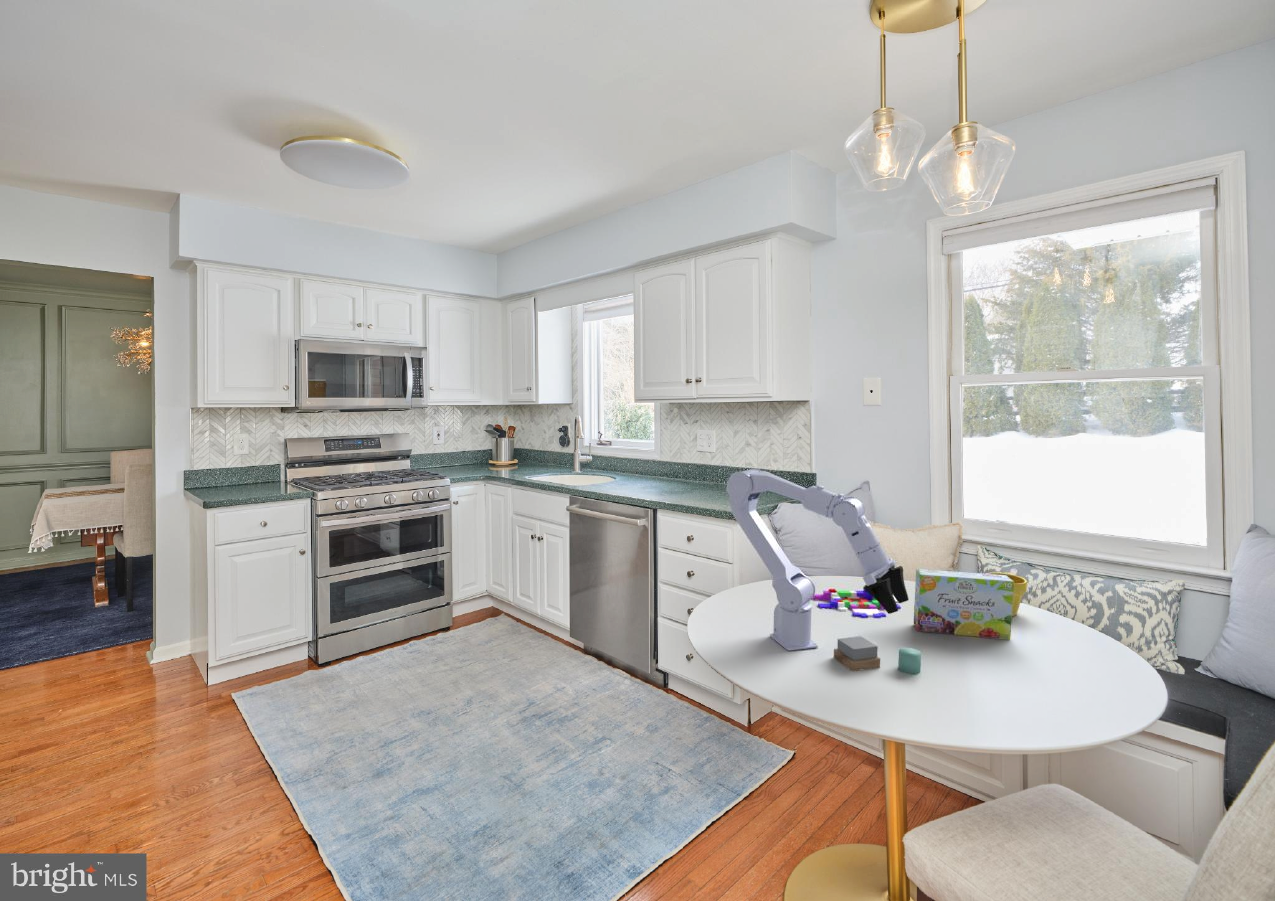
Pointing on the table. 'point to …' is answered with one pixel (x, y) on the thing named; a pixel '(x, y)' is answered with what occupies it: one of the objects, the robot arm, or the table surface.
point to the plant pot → (1016, 590)
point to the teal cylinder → (909, 660)
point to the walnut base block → (856, 661)
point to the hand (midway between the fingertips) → (899, 606)
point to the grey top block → (857, 648)
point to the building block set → (844, 602)
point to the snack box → (963, 603)
